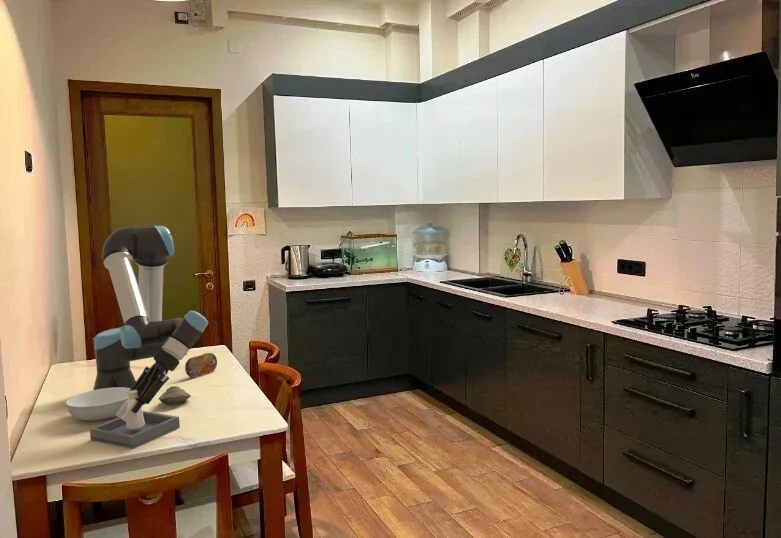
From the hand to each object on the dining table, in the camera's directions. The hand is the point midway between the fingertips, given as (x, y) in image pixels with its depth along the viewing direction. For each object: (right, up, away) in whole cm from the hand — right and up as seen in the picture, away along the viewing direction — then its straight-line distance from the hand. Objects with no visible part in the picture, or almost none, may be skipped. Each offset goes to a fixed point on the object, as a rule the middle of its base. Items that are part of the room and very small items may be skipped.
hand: (122, 419), depth 189 cm
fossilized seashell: (+5, -2, +31) cm, 32 cm away
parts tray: (+3, -5, +3) cm, 7 cm away
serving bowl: (-16, -4, +21) cm, 27 cm away
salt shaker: (+3, -3, +3) cm, 5 cm away
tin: (+3, +2, +68) cm, 69 cm away
